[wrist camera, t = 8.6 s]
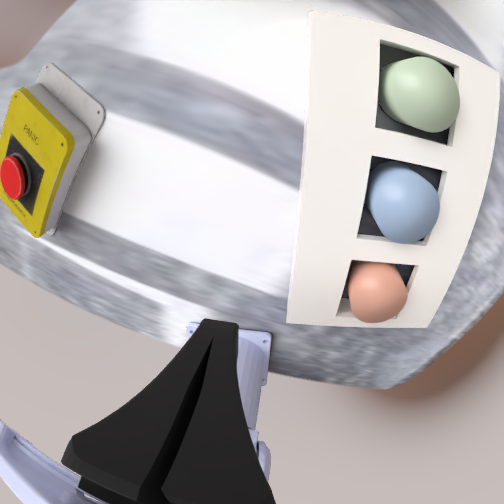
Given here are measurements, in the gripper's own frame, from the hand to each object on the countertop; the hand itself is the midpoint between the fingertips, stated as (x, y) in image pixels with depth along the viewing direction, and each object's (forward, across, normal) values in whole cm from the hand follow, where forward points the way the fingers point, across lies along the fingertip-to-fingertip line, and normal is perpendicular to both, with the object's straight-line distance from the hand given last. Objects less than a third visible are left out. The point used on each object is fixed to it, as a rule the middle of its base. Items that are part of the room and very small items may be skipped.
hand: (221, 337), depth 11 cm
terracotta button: (+9, -9, +3) cm, 13 cm away
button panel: (+10, -9, -4) cm, 14 cm away
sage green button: (+9, -9, -10) cm, 16 cm away
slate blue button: (+9, -9, -4) cm, 13 cm away
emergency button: (+10, +19, -6) cm, 22 cm away
